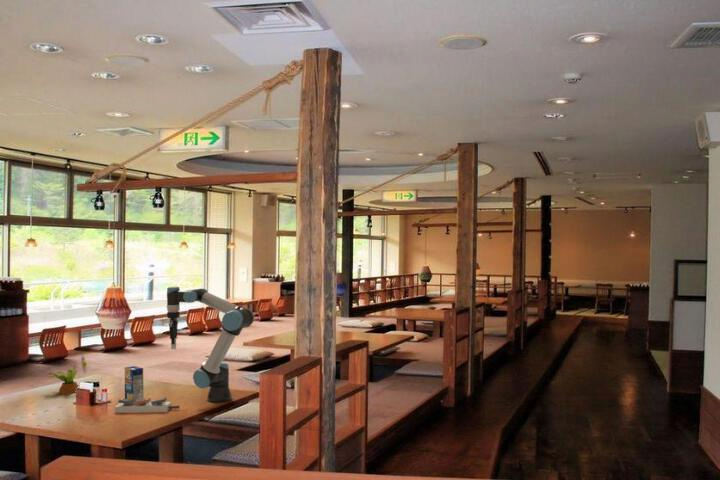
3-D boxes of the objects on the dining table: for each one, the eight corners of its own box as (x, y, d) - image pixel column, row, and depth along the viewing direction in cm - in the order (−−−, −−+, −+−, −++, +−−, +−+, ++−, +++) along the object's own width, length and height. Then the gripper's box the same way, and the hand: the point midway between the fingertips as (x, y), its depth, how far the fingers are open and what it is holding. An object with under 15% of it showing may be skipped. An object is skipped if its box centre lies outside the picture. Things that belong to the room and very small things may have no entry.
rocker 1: (134, 403, 399) (134, 400, 399) (131, 405, 395) (132, 401, 395) (120, 400, 399) (121, 397, 399) (118, 402, 395) (118, 399, 395)
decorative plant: (83, 394, 441) (83, 356, 441) (44, 396, 436) (43, 358, 436) (90, 386, 468) (90, 350, 468) (52, 388, 462) (52, 351, 462)
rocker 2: (150, 400, 399) (150, 397, 399) (148, 402, 395) (148, 399, 395) (137, 402, 399) (136, 399, 399) (135, 404, 395) (134, 401, 395)
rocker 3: (166, 400, 400) (166, 396, 400) (164, 401, 395) (164, 398, 395) (153, 403, 399) (152, 399, 399) (151, 404, 395) (150, 401, 395)
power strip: (181, 407, 404) (181, 400, 404) (176, 412, 393) (176, 404, 393) (121, 408, 404) (121, 400, 404) (114, 412, 393) (114, 405, 393)
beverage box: (133, 406, 409) (132, 369, 409) (124, 403, 417) (124, 367, 417) (143, 404, 414) (143, 368, 414) (135, 401, 422) (134, 366, 422)
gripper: (170, 310, 428) (170, 347, 428) (164, 312, 415) (164, 350, 415) (182, 310, 429) (182, 347, 428) (176, 312, 416) (177, 350, 415)
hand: (173, 349), depth 422 cm, fingers closed
